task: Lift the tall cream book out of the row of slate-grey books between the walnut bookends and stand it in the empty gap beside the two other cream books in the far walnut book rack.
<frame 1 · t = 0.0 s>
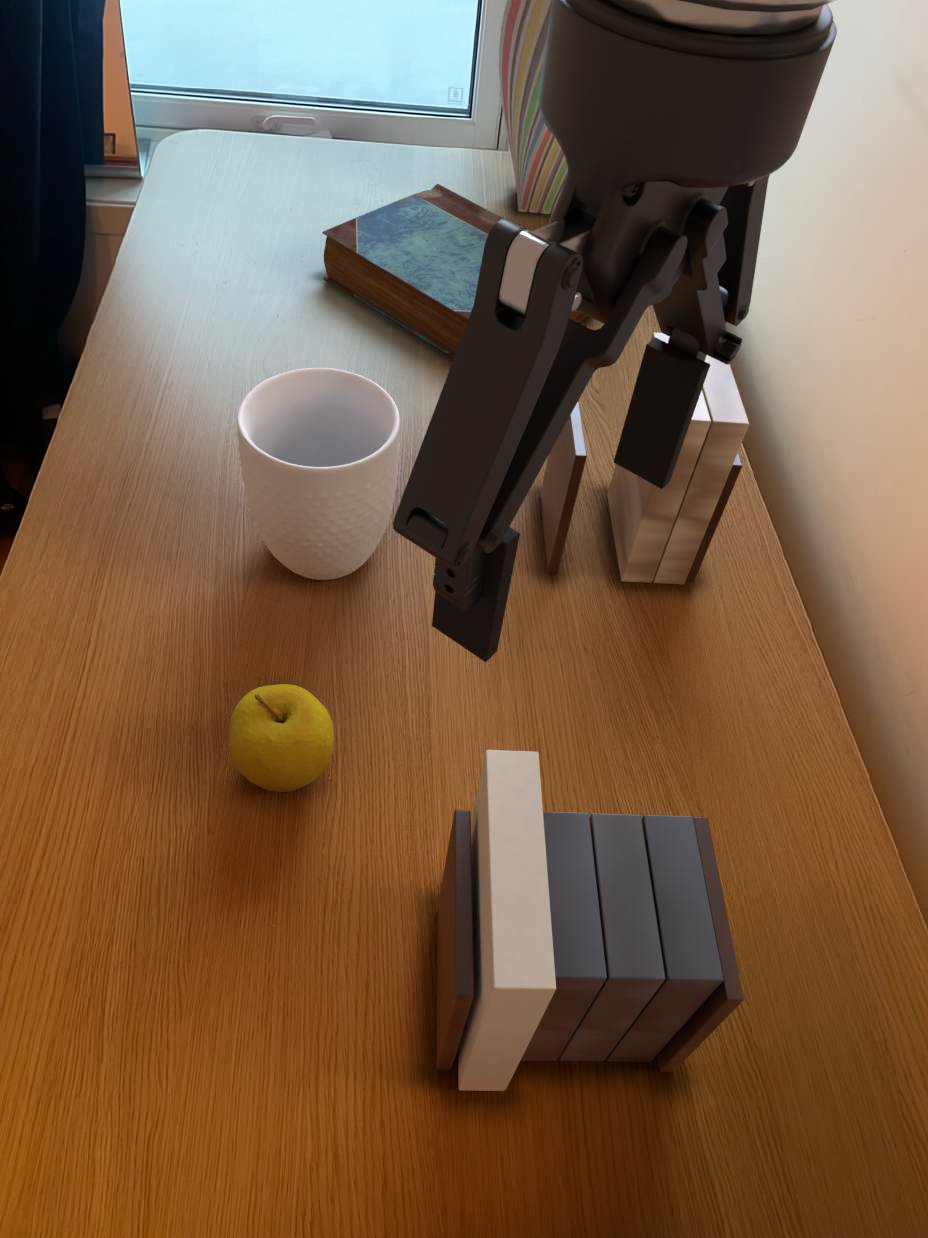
hand: (560, 548, 41), 25 cm above the table, tool pointing down, fingers open, 13 cm apart
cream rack: (609, 536, 77), on the table
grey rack: (550, 985, 53), on the table
vase: (537, 204, 113), on the table
apple: (285, 773, 60), on the table
mug: (331, 543, 74), on the table
book: (457, 297, 98), on the table
cream book: (479, 984, 53), on the table
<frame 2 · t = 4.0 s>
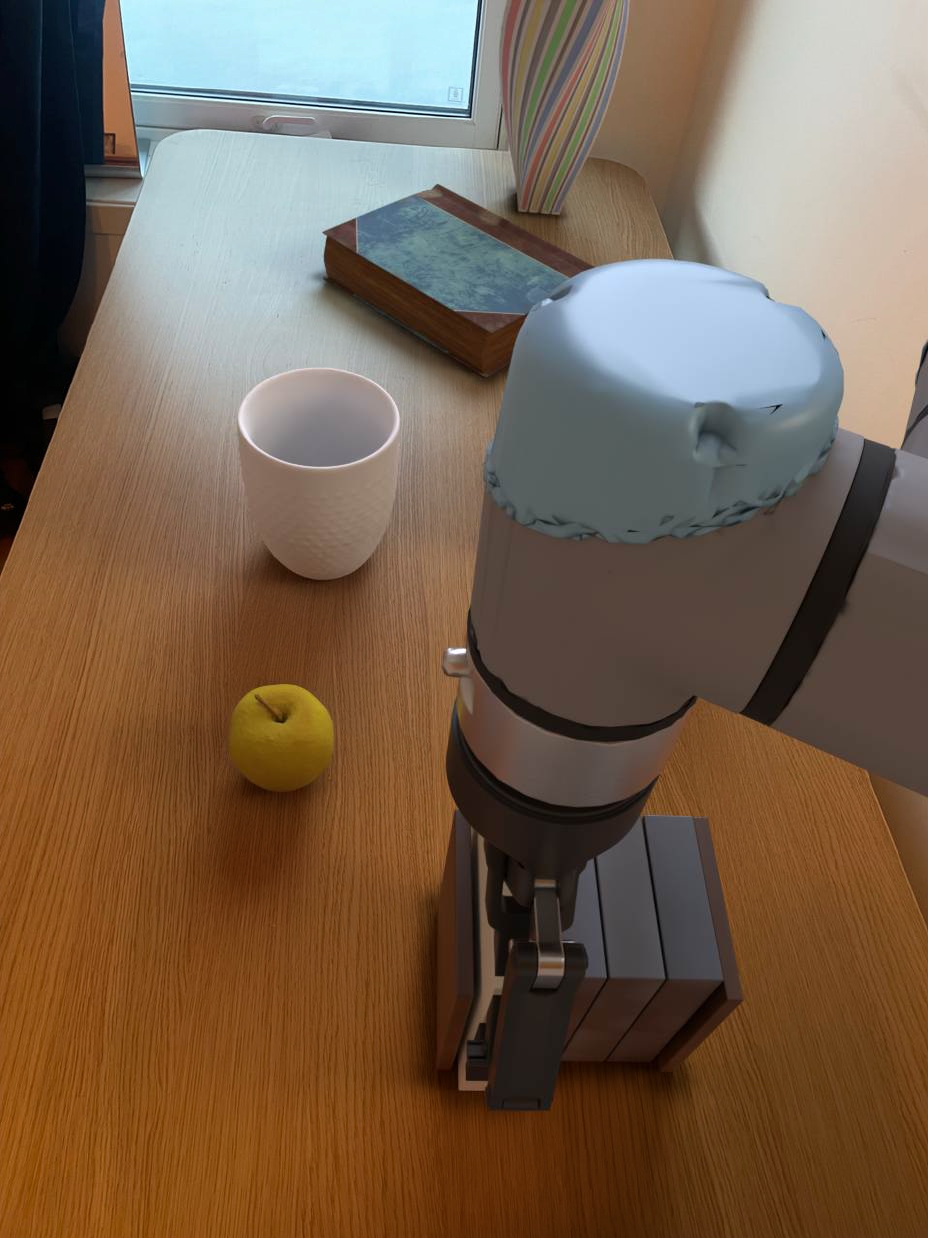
hand: (489, 951, 49), 5 cm above the table, tool pointing down, fingers closed on cream book, 11 cm apart
cream book: (479, 984, 53), on the table, touching gripper
everything else where it was.
when the fingers open (5 cm above the table, at t = 14.6 s): cream book stays where it is, on the table.
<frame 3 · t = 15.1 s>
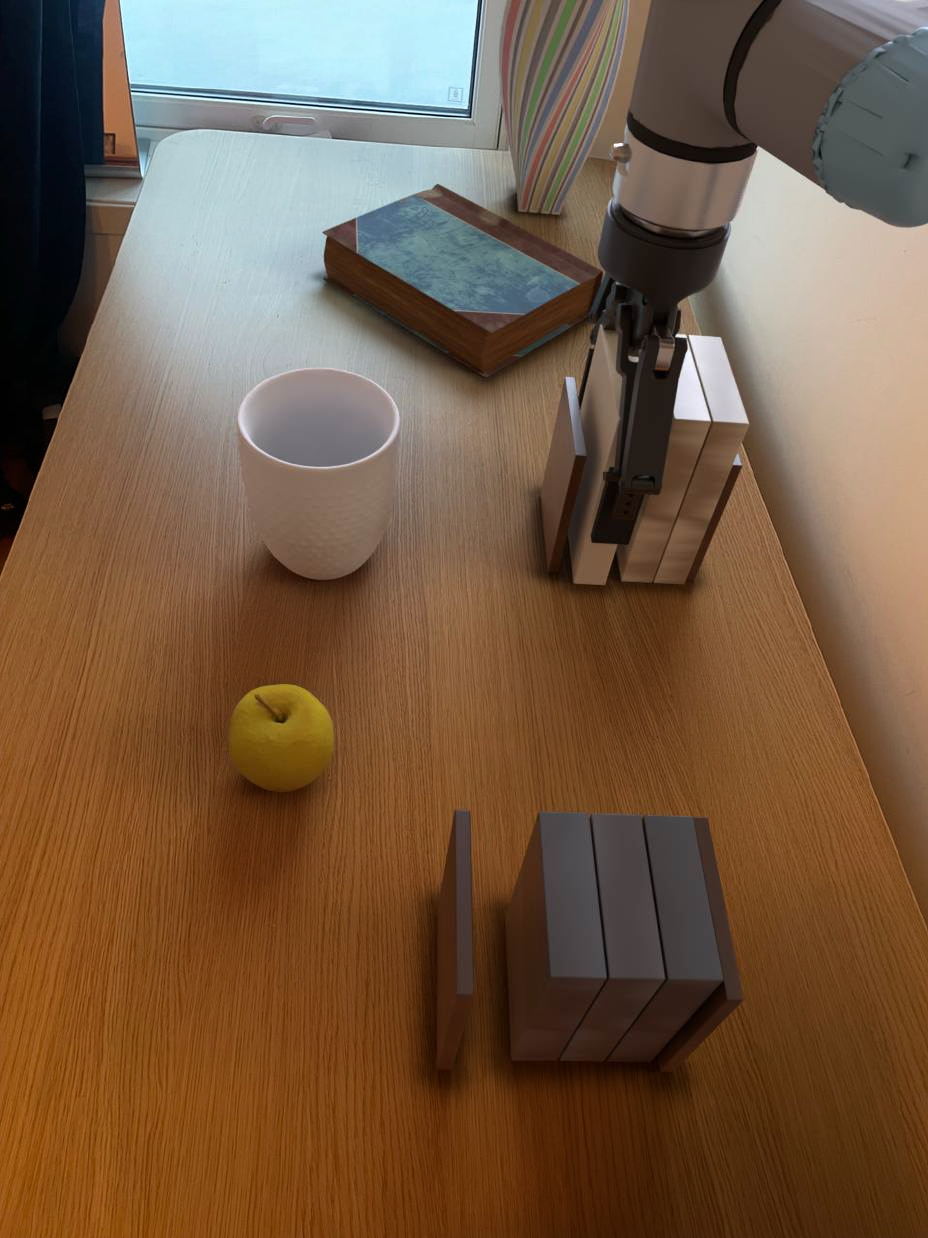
hand: (599, 477, 72), 6 cm above the table, tool pointing down, fingers open, 13 cm apart
cream book: (582, 534, 77), on the table
everything else where it was.
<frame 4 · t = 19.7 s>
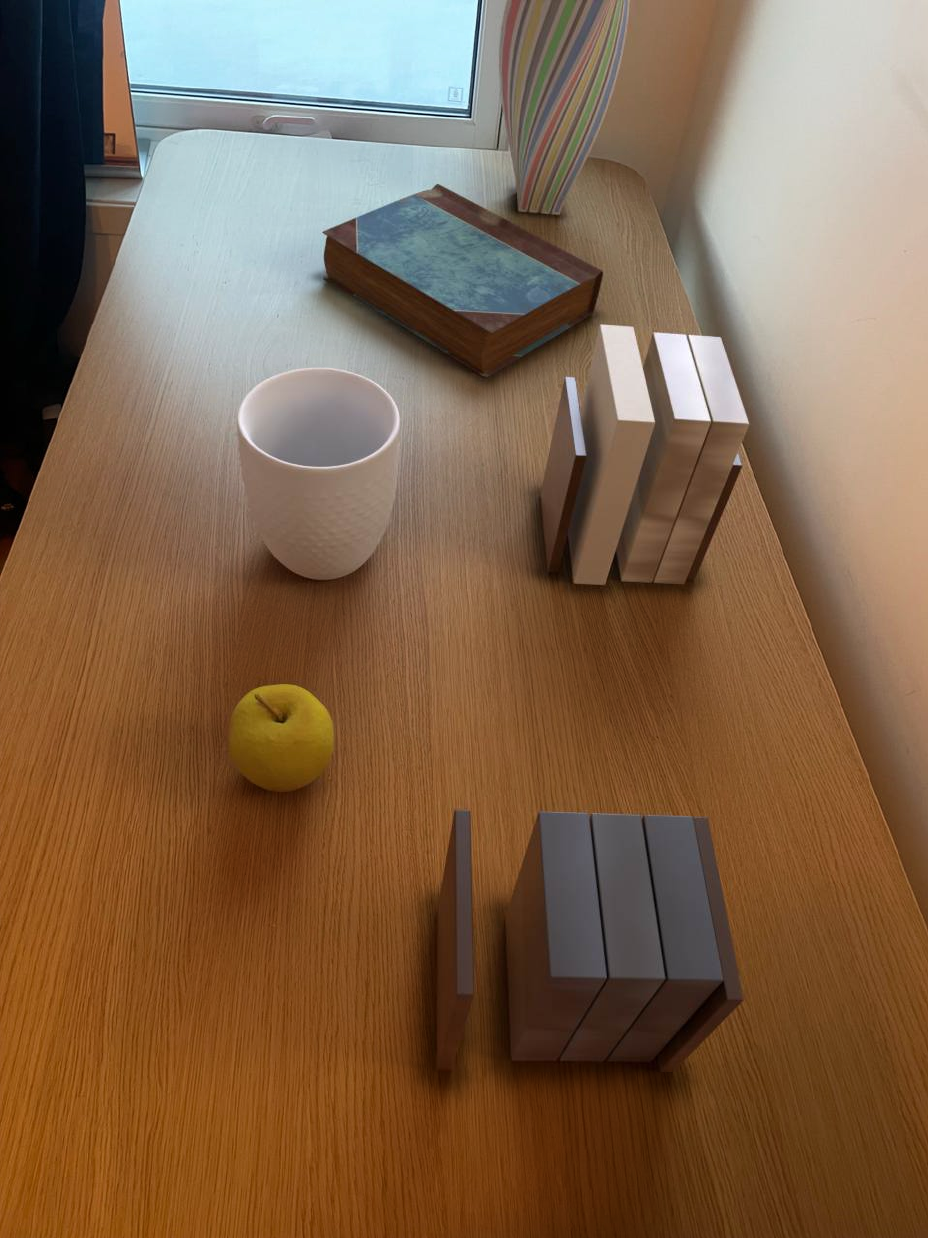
nothing on the table moved.
at the end: cream book 0.0 cm from the target spot on the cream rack, point 0.0 cm above the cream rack's base; cream book tilted 0°; the gripper is holding nothing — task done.
